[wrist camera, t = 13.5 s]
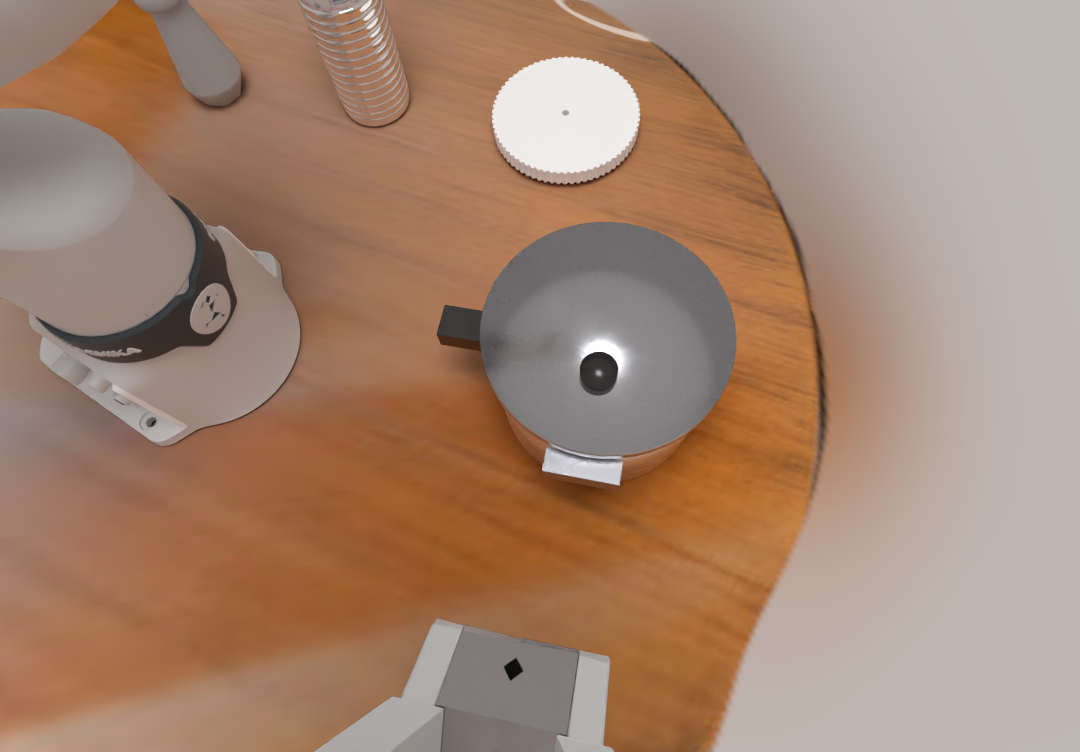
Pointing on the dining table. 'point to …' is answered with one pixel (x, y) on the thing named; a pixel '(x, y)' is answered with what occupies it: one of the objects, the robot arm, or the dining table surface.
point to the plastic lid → (565, 120)
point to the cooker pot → (601, 473)
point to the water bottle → (360, 57)
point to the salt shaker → (196, 52)
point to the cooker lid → (607, 340)
